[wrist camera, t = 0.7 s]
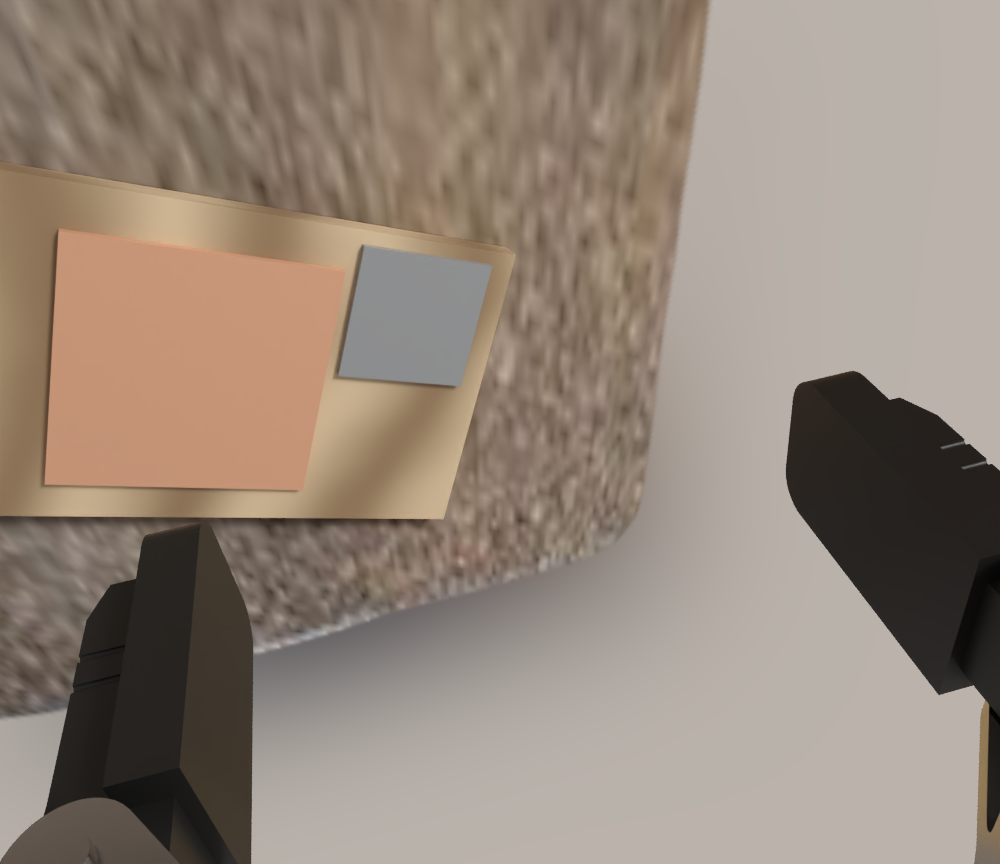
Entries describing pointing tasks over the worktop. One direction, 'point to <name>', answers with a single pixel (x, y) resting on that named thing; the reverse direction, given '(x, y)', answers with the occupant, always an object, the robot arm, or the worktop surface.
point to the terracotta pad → (185, 365)
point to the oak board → (345, 400)
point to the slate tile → (412, 316)
